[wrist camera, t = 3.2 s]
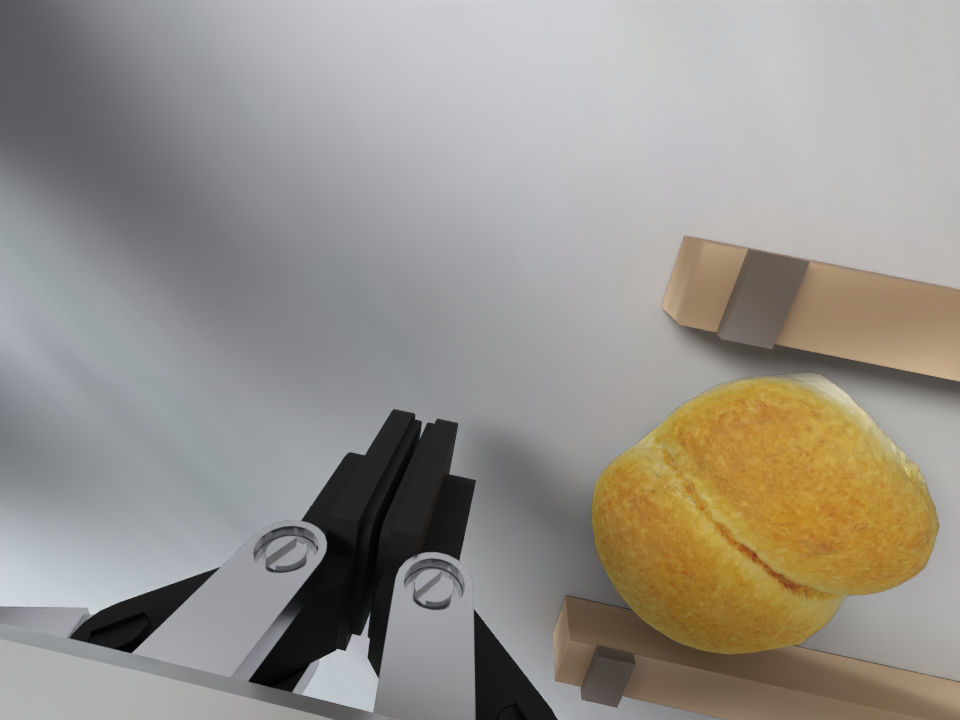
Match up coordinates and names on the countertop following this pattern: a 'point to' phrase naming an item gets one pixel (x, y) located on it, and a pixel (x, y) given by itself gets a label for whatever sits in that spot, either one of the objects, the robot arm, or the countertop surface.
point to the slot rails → (764, 322)
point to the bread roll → (760, 514)
